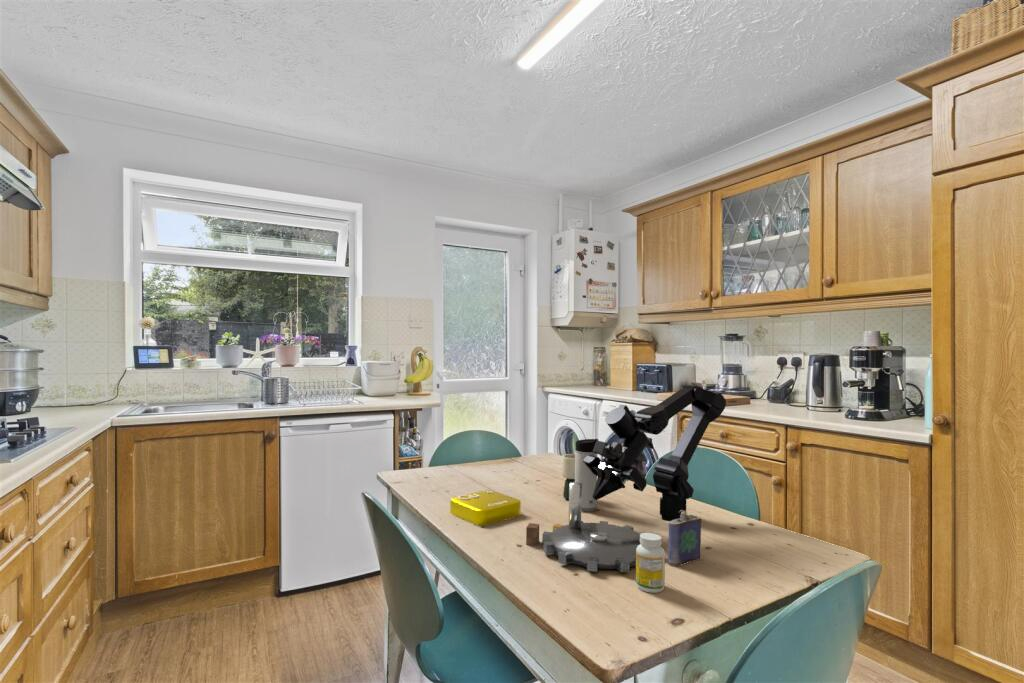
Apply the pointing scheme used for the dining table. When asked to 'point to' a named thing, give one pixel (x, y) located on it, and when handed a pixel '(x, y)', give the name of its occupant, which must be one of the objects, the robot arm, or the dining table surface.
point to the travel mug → (585, 473)
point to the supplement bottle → (650, 563)
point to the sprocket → (591, 540)
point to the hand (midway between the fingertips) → (594, 498)
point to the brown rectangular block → (532, 534)
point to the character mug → (568, 472)
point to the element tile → (485, 507)
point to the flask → (684, 539)
